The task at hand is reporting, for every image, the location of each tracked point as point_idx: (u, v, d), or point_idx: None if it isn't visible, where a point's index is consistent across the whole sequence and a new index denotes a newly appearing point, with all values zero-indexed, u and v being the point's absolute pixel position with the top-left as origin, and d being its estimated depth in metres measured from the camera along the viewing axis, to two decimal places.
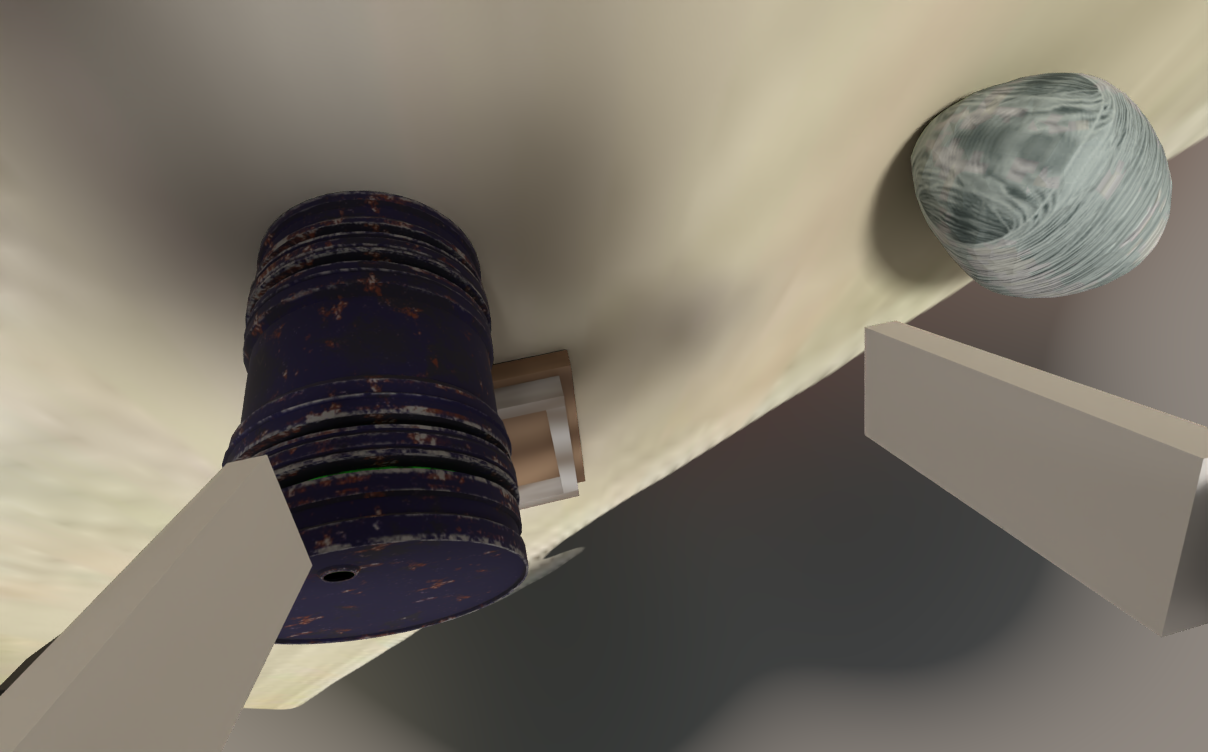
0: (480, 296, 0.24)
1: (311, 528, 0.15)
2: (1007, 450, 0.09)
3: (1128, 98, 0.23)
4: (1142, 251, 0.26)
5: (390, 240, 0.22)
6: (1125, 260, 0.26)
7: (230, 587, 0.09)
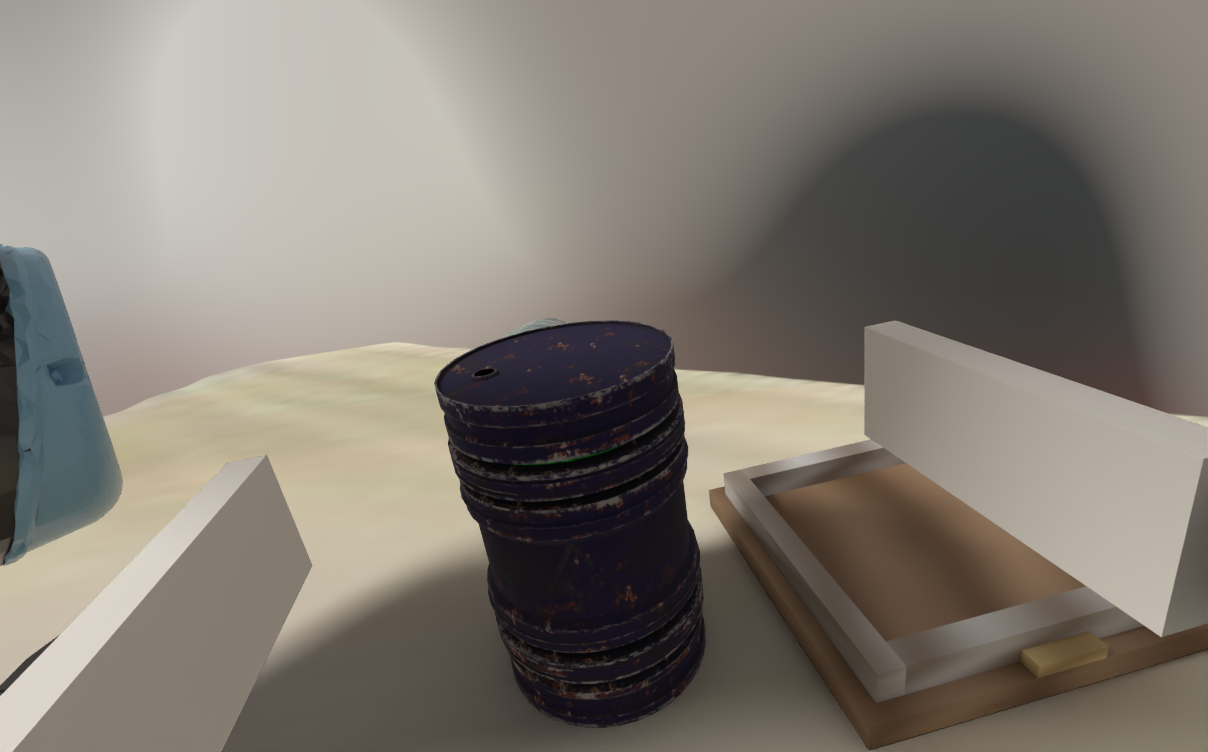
0: None
1: None
2: (1007, 450, 0.09)
3: None
4: None
5: None
6: (534, 321, 0.57)
7: (230, 587, 0.09)
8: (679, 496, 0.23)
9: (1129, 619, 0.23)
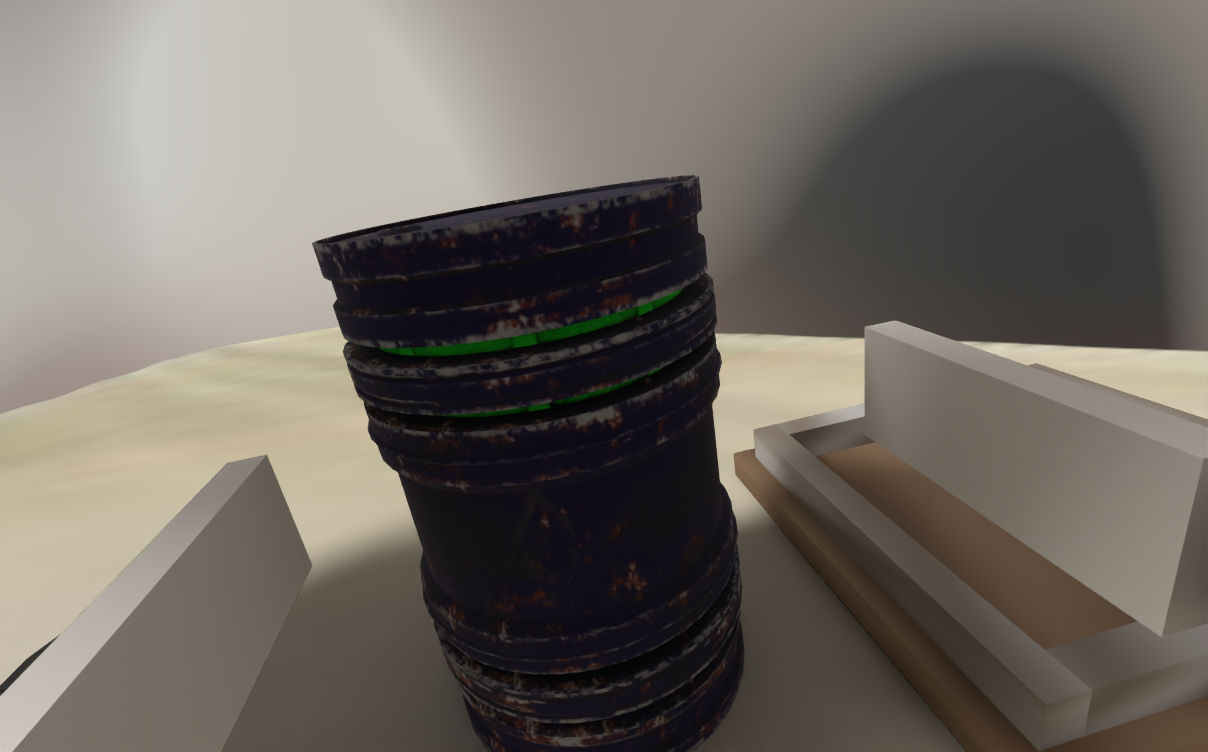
0: None
1: None
2: (1007, 450, 0.09)
3: None
4: None
5: None
6: None
7: (230, 587, 0.09)
8: (709, 426, 0.15)
9: None
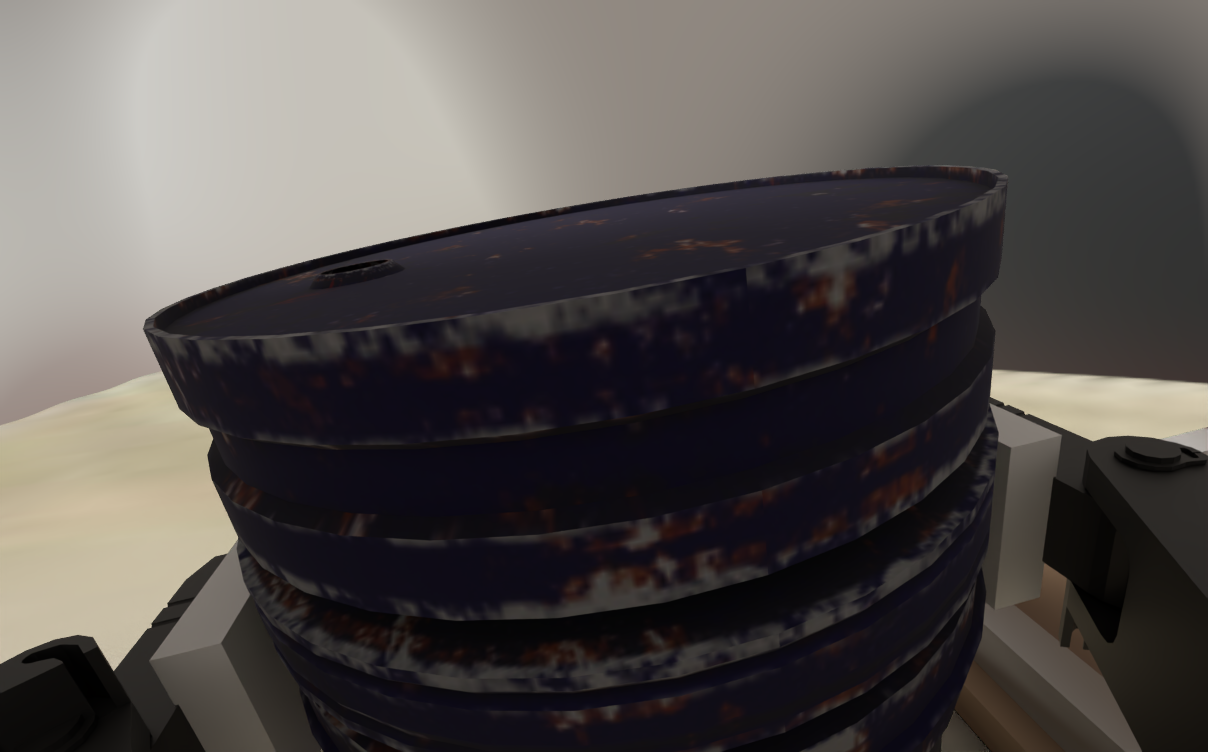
0: None
1: None
2: None
3: None
4: None
5: None
6: None
7: None
8: None
9: None
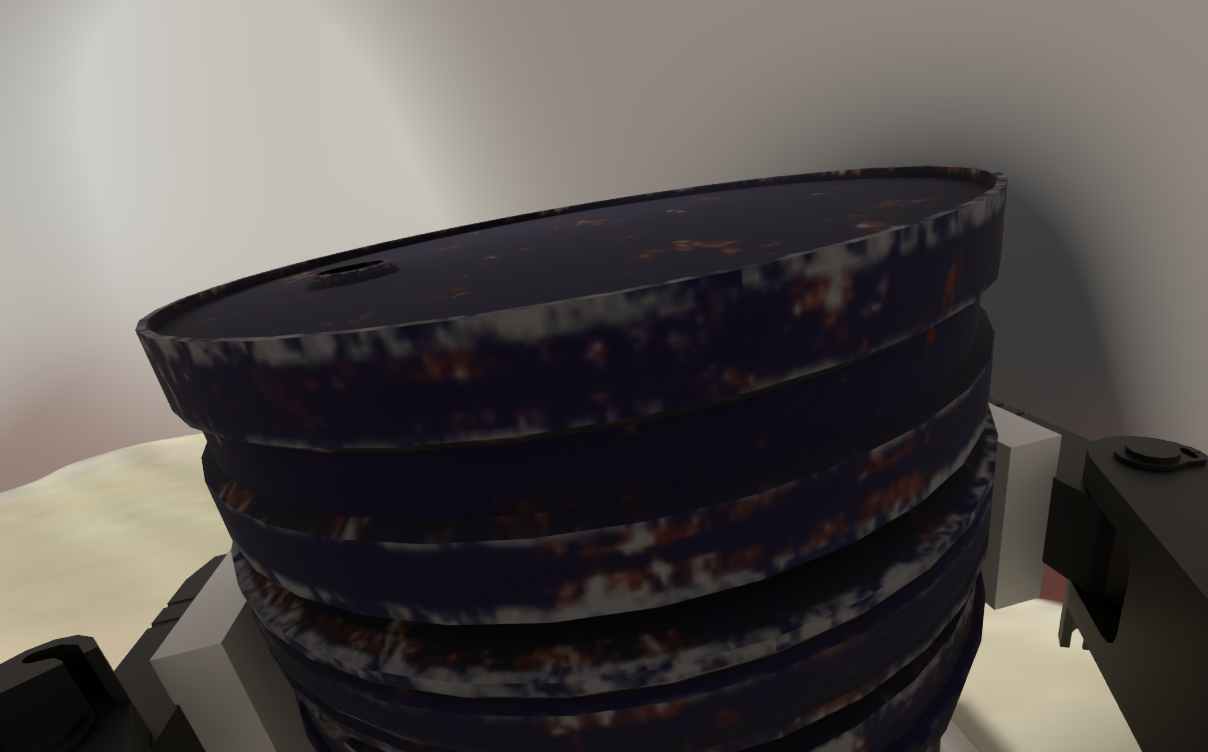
0: None
1: None
2: None
3: None
4: None
5: None
6: None
7: None
8: None
9: None
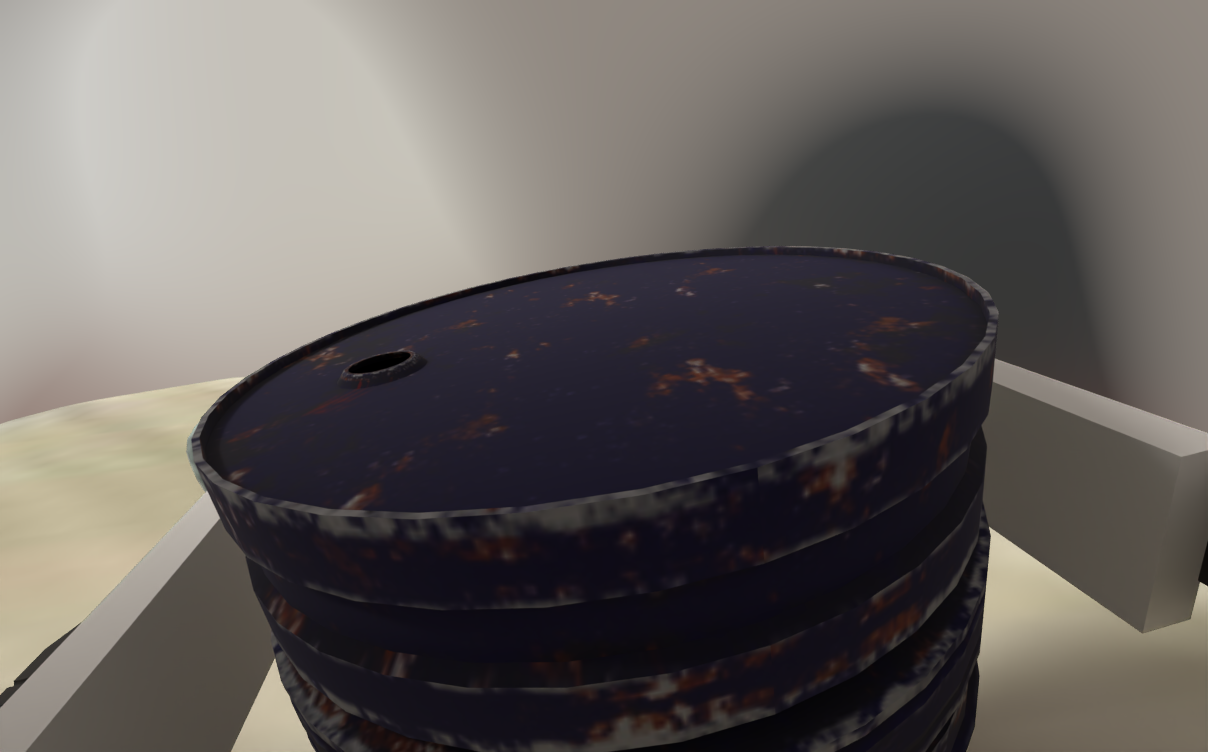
0: None
1: None
2: (993, 449, 0.09)
3: None
4: None
5: None
6: None
7: (242, 580, 0.09)
8: None
9: None
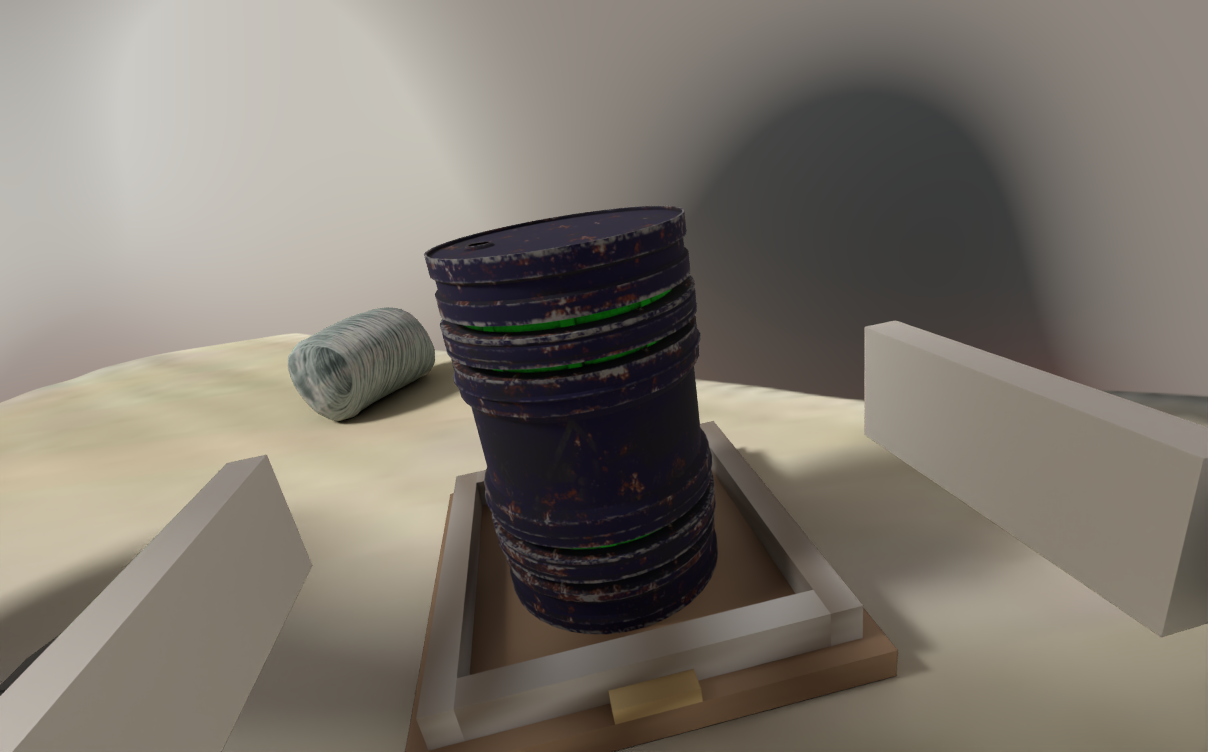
0: None
1: None
2: (1007, 450, 0.09)
3: None
4: (368, 311, 0.55)
5: None
6: (368, 311, 0.54)
7: (230, 587, 0.09)
8: (690, 384, 0.21)
9: (745, 655, 0.20)
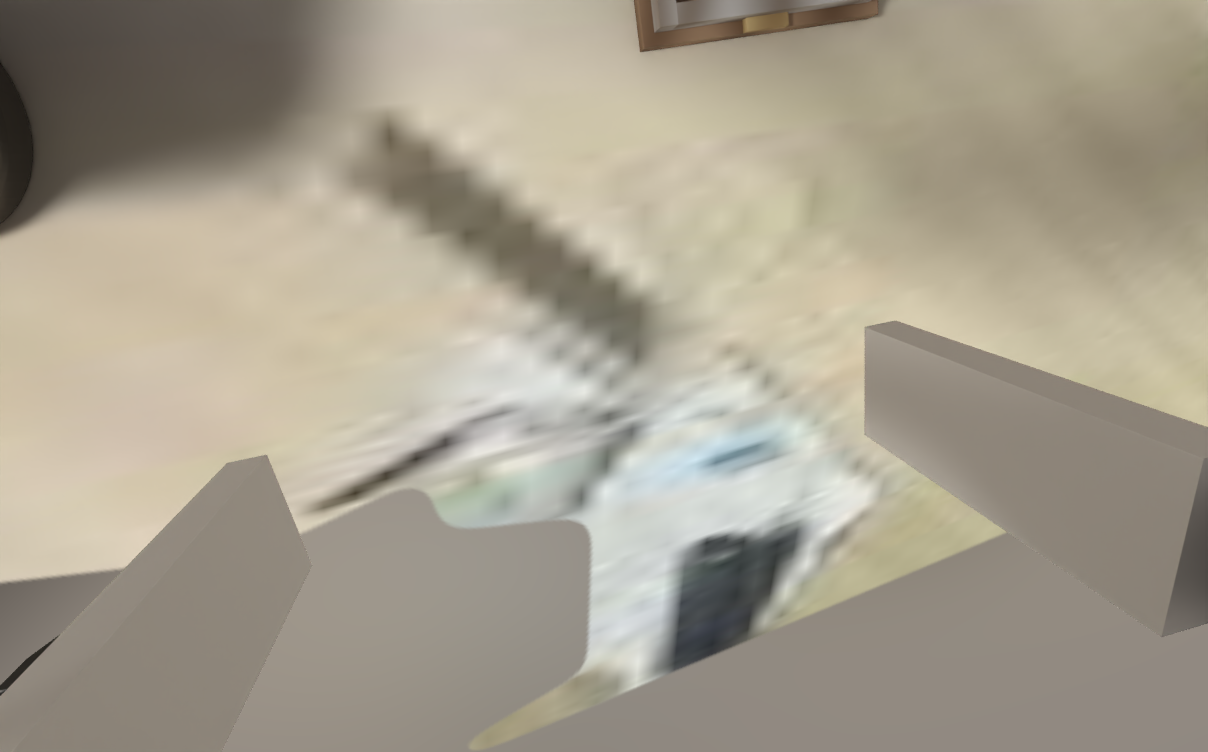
0: None
1: None
2: (1007, 450, 0.09)
3: None
4: None
5: None
6: None
7: (230, 587, 0.09)
8: None
9: (813, 8, 0.38)
